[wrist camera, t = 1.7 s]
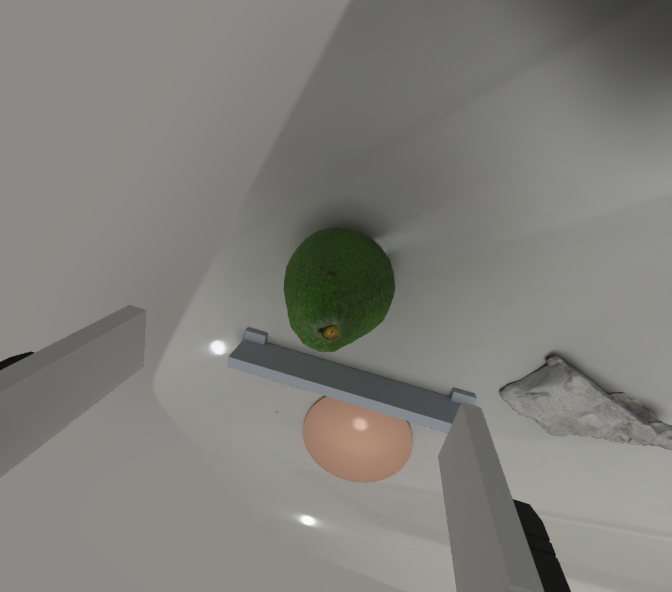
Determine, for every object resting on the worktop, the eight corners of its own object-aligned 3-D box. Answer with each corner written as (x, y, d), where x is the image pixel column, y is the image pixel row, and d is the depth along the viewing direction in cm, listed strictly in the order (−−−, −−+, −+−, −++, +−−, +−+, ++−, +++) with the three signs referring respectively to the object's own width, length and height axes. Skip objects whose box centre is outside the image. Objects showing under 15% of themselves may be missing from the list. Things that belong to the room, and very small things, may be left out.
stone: (606, 458, 34) (634, 495, 30) (493, 396, 34) (507, 426, 30) (660, 408, 32) (698, 442, 28) (539, 341, 31) (561, 366, 27)
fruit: (313, 314, 34) (271, 387, 22) (294, 228, 31) (236, 262, 20) (400, 303, 32) (400, 377, 21) (387, 212, 30) (380, 239, 18)
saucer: (316, 376, 36) (315, 378, 35) (426, 409, 35) (427, 411, 35) (294, 460, 40) (293, 463, 39) (393, 492, 39) (393, 495, 39)
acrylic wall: (247, 327, 35) (229, 346, 31) (474, 394, 34) (484, 422, 30) (243, 354, 36) (225, 375, 33) (463, 420, 35) (471, 450, 31)
